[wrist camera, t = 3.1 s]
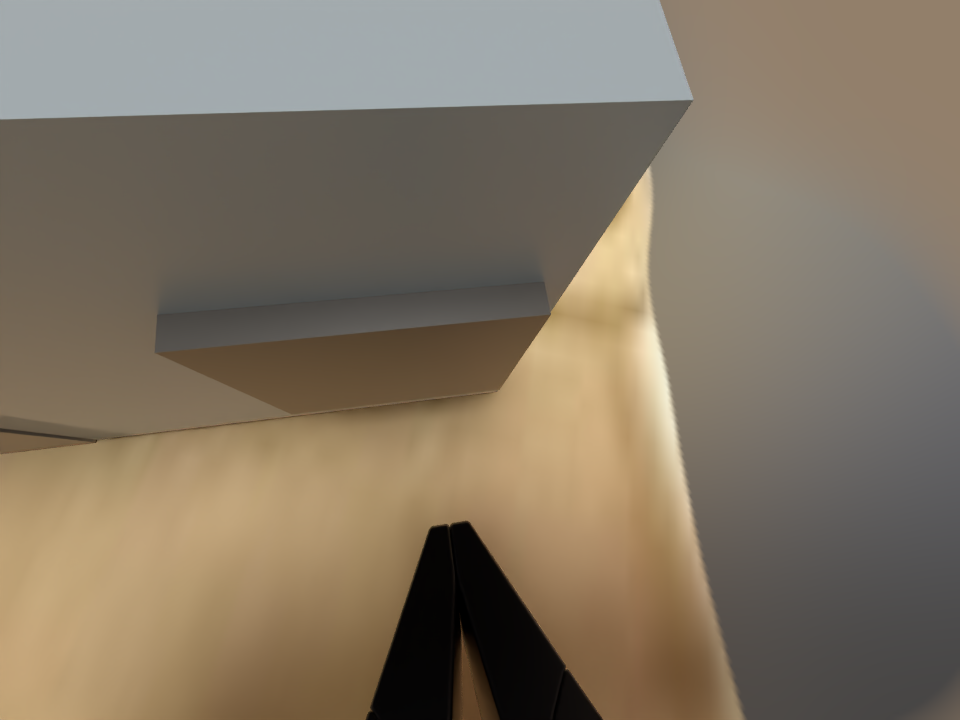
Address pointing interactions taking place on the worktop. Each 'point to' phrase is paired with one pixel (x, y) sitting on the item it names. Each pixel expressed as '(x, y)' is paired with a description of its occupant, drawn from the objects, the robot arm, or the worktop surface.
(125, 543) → the worktop surface
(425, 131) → the grey bookend
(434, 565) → the robot arm
